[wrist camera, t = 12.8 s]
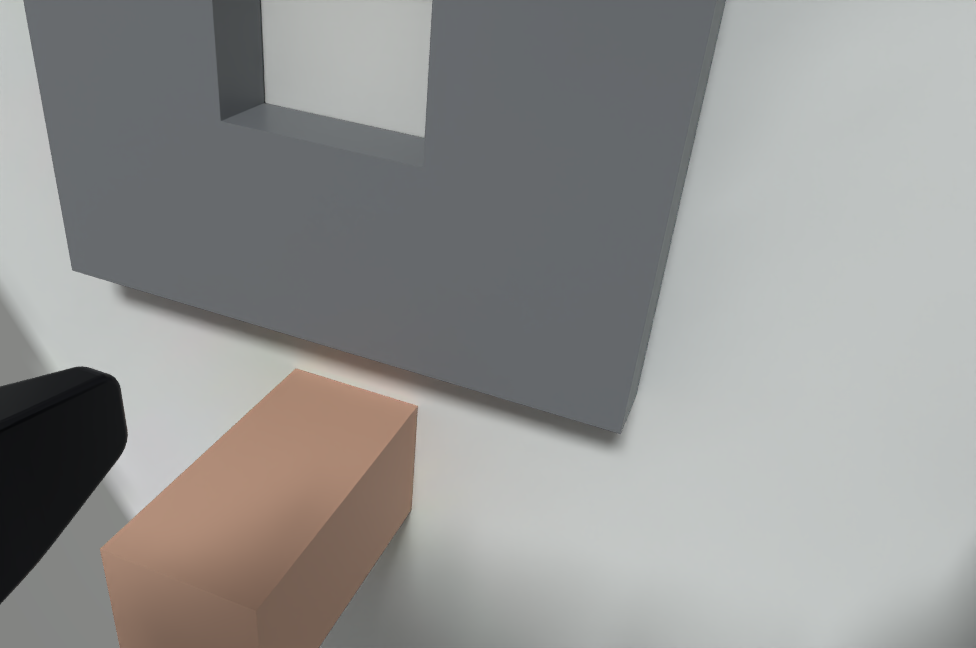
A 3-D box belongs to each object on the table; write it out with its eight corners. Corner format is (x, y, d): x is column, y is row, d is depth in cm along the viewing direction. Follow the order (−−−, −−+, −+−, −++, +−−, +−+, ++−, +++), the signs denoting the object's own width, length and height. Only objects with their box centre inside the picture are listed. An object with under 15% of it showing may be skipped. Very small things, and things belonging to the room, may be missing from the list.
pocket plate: (827, -447, 13) (824, -485, 11) (636, 393, 21) (620, 433, 20) (13, -462, 17) (-66, -492, 16) (117, 246, 25) (72, 270, 24)
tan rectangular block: (417, 405, 24) (256, 611, 17) (411, 509, 26) (265, 728, 20) (295, 368, 25) (100, 549, 18) (299, 471, 27) (123, 666, 21)
